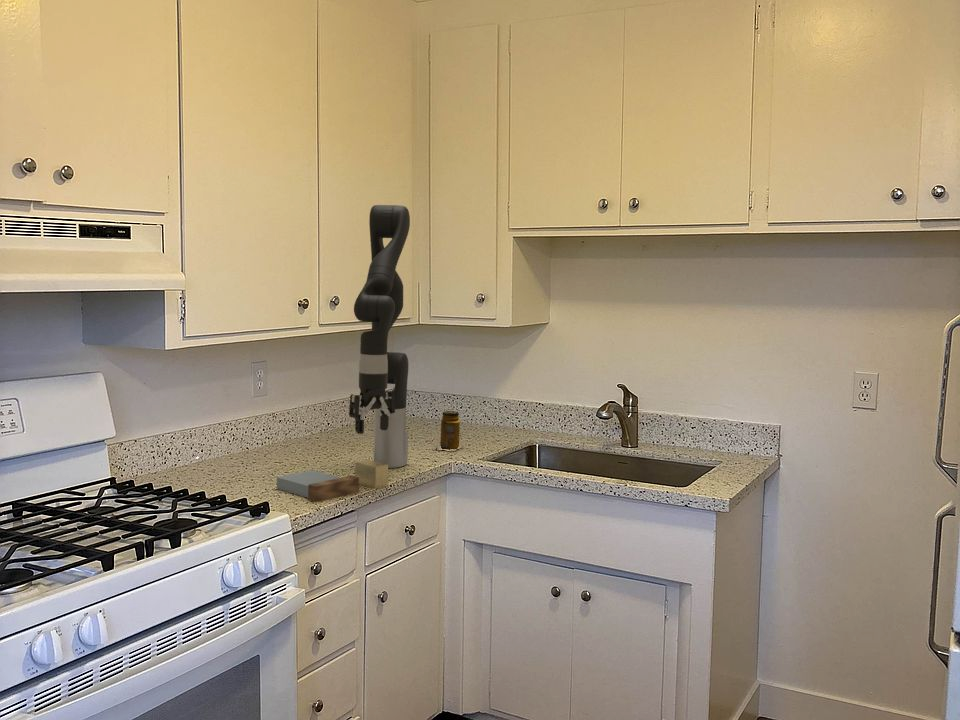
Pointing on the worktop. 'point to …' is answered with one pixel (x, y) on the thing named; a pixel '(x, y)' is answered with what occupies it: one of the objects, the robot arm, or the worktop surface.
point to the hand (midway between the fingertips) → (372, 431)
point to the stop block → (333, 488)
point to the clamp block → (372, 473)
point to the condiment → (450, 430)
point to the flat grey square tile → (302, 481)
